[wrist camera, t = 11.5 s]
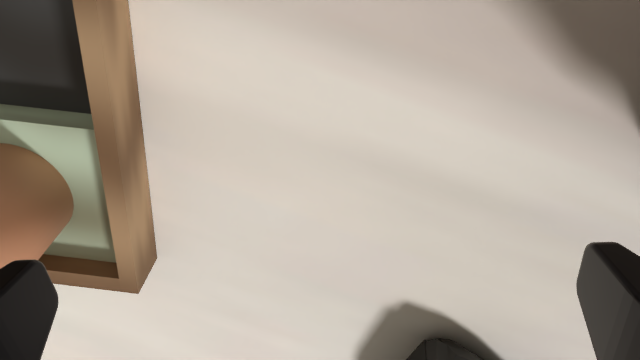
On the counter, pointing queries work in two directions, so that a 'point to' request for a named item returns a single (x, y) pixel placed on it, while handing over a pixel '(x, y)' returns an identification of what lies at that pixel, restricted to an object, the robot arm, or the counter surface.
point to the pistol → (442, 351)
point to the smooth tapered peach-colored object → (30, 204)
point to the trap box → (82, 132)
